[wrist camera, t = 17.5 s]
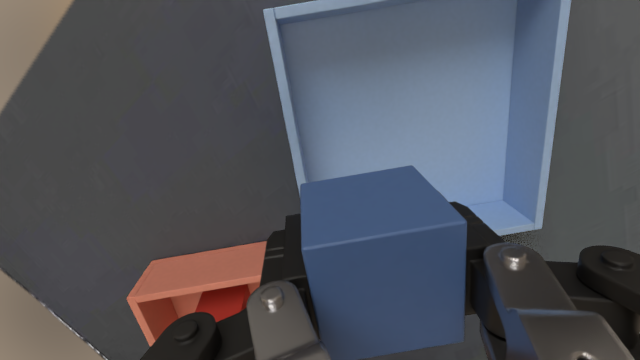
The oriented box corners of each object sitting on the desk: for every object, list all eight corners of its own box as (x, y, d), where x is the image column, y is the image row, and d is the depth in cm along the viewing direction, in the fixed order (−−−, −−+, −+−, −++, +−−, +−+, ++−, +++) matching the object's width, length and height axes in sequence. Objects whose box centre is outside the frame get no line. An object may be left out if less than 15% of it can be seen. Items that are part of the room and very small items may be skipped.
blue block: (317, 274, 13) (325, 366, 9) (299, 183, 11) (300, 249, 8) (417, 257, 13) (465, 342, 9) (412, 163, 11) (468, 220, 8)
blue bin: (311, 235, 28) (313, 268, 24) (269, 17, 22) (262, 9, 17) (504, 201, 28) (542, 228, 24) (521, -26, 22) (577, -44, 17)
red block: (215, 323, 30) (204, 361, 27) (202, 290, 29) (189, 325, 25) (257, 316, 30) (251, 353, 27) (246, 282, 29) (239, 317, 25)
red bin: (191, 351, 32) (175, 397, 28) (151, 260, 28) (125, 298, 24) (301, 332, 32) (302, 375, 28) (279, 238, 28) (276, 272, 24)
